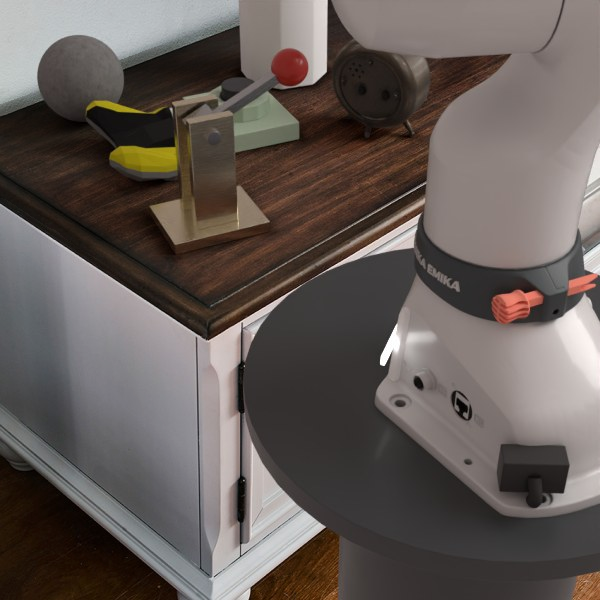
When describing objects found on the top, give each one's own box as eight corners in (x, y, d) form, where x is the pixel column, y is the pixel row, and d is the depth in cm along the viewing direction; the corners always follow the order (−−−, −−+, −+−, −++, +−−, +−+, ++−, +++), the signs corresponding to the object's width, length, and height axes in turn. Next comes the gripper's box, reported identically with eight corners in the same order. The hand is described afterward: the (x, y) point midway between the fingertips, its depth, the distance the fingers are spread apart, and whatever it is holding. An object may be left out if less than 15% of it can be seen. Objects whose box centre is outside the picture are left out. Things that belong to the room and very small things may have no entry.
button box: (299, 139, 120) (299, 107, 118) (219, 156, 117) (217, 124, 114) (259, 98, 129) (258, 68, 126) (183, 113, 125) (181, 83, 123)
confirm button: (261, 101, 120) (261, 87, 119) (229, 108, 118) (228, 94, 117) (248, 88, 123) (248, 74, 122) (216, 94, 121) (216, 80, 120)
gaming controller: (118, 203, 108) (209, 185, 111) (112, 157, 105) (206, 139, 108) (86, 142, 119) (169, 127, 122) (80, 98, 116) (165, 83, 119)
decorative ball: (132, 130, 122) (123, 50, 116) (46, 140, 120) (33, 59, 114) (122, 95, 130) (114, 18, 124) (41, 104, 128) (29, 26, 122)
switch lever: (304, 64, 102) (290, 35, 99) (320, 78, 99) (305, 48, 97) (193, 139, 101) (176, 111, 99) (206, 155, 98) (188, 127, 96)
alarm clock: (428, 133, 121) (438, -3, 111) (408, 152, 117) (417, 13, 108) (346, 112, 126) (350, -20, 116) (324, 129, 122) (326, -6, 112)
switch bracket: (240, 195, 110) (235, 82, 102) (270, 231, 104) (267, 115, 96) (150, 215, 106) (138, 101, 99) (175, 254, 100) (165, 136, 93)
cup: (245, 54, 140) (240, -86, 129) (327, 56, 139) (329, -85, 129) (237, 89, 131) (231, -58, 120) (325, 91, 130) (327, -57, 120)
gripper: (372, -154, 102) (282, -41, 104) (486, -102, 86) (377, 28, 89) (409, -112, 106) (322, -4, 108) (524, -56, 91) (419, 68, 93)
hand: (348, 11), depth 98 cm, fingers open, 8 cm apart
